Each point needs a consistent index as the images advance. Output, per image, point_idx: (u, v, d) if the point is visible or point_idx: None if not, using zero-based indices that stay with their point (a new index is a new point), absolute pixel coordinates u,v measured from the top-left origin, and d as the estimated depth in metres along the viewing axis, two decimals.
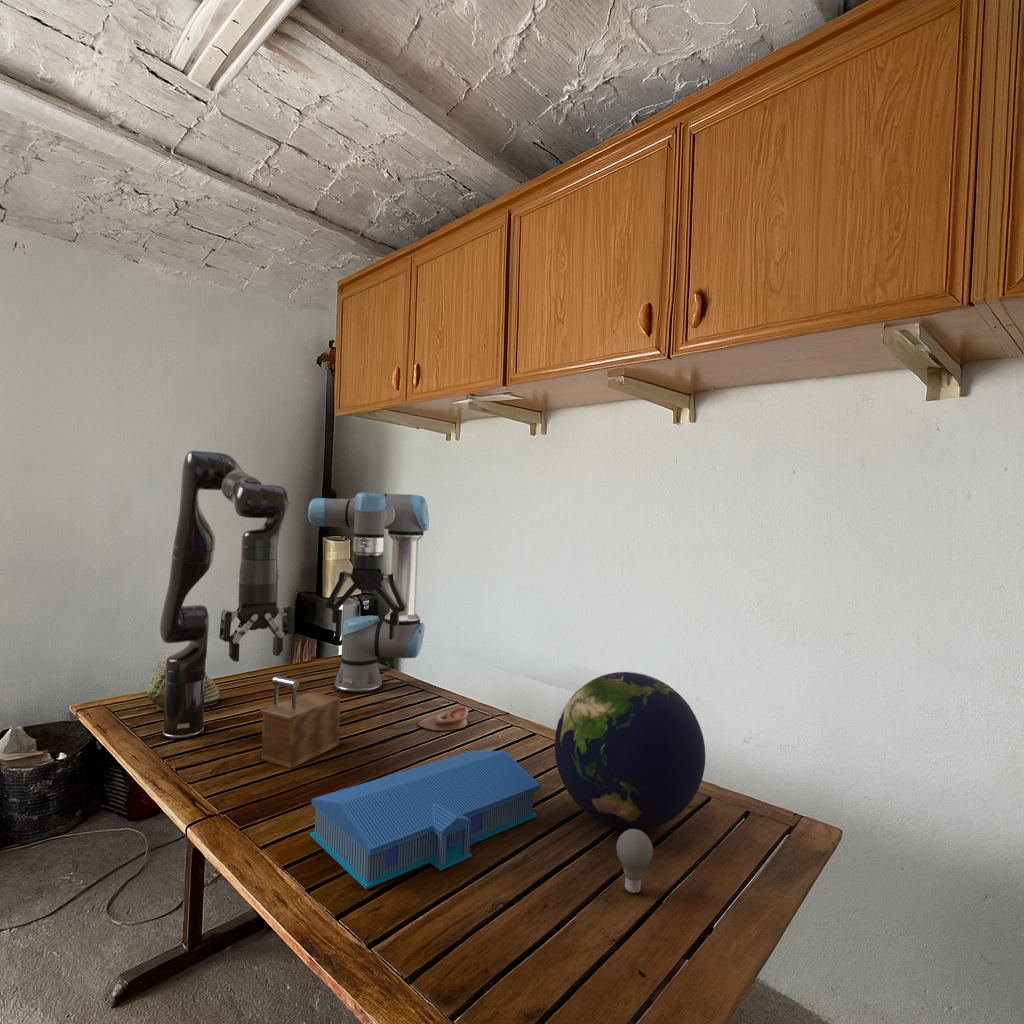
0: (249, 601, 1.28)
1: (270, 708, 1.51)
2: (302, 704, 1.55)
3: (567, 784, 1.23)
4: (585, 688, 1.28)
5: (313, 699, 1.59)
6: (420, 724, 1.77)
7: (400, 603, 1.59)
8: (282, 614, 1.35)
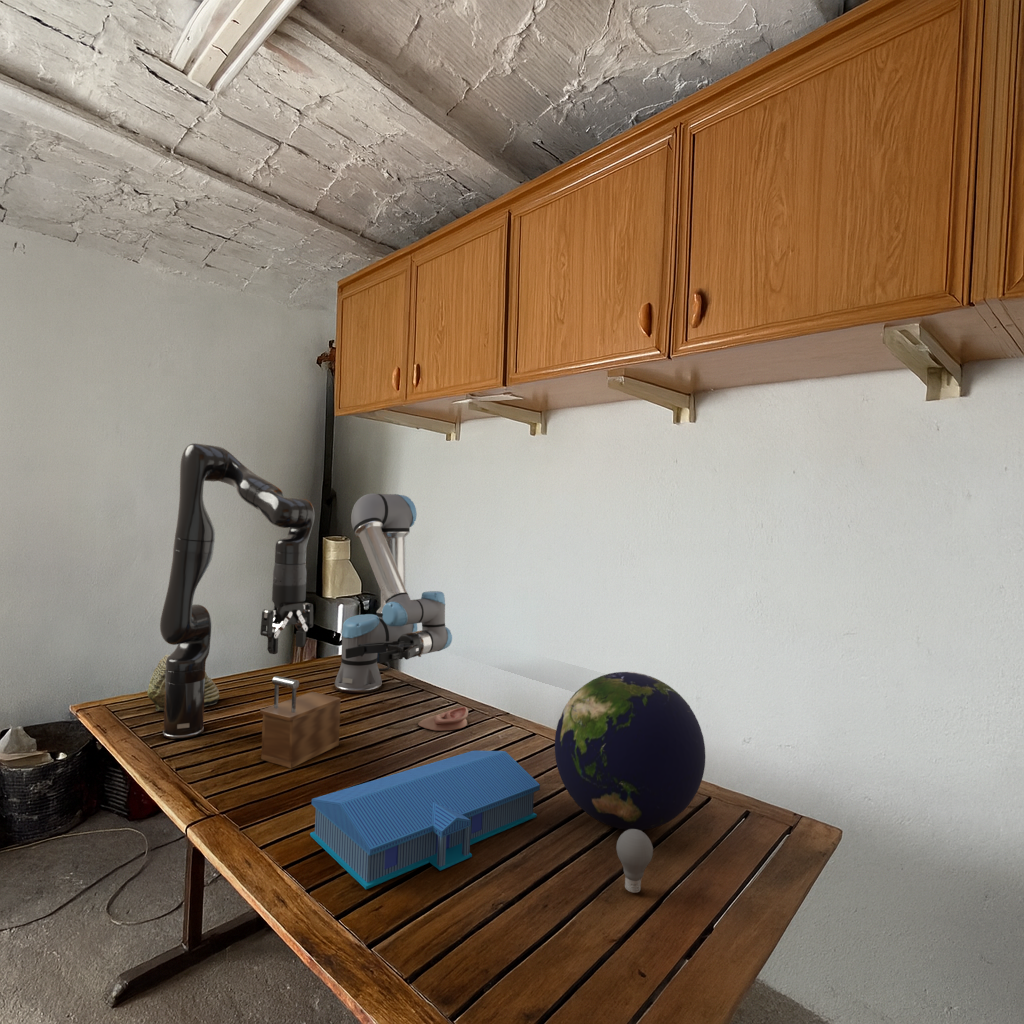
0: None
1: (270, 708, 1.51)
2: (302, 704, 1.55)
3: (567, 784, 1.23)
4: (585, 688, 1.28)
5: (313, 699, 1.59)
6: (420, 724, 1.77)
7: None
8: None
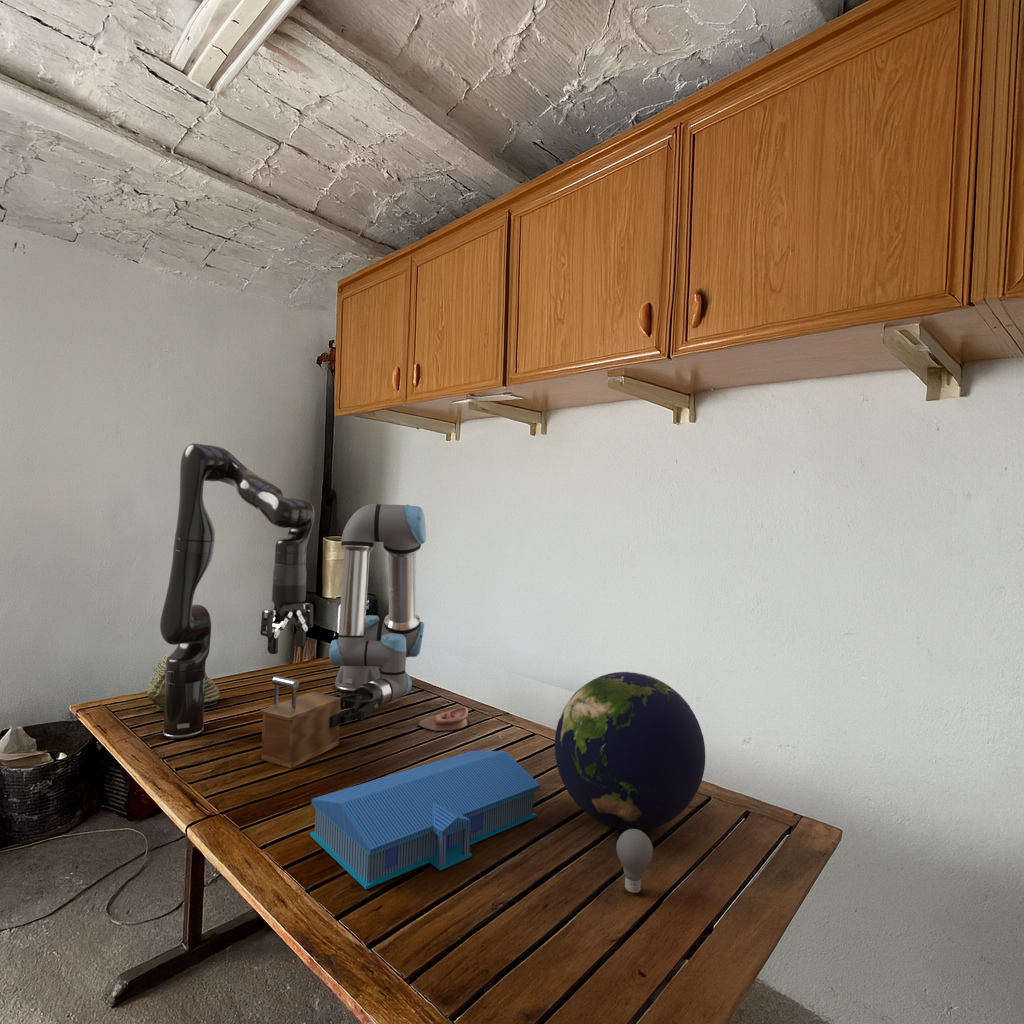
0: None
1: (270, 708, 1.51)
2: (302, 704, 1.55)
3: (567, 784, 1.23)
4: (585, 688, 1.28)
5: (313, 699, 1.59)
6: (420, 724, 1.77)
7: None
8: None
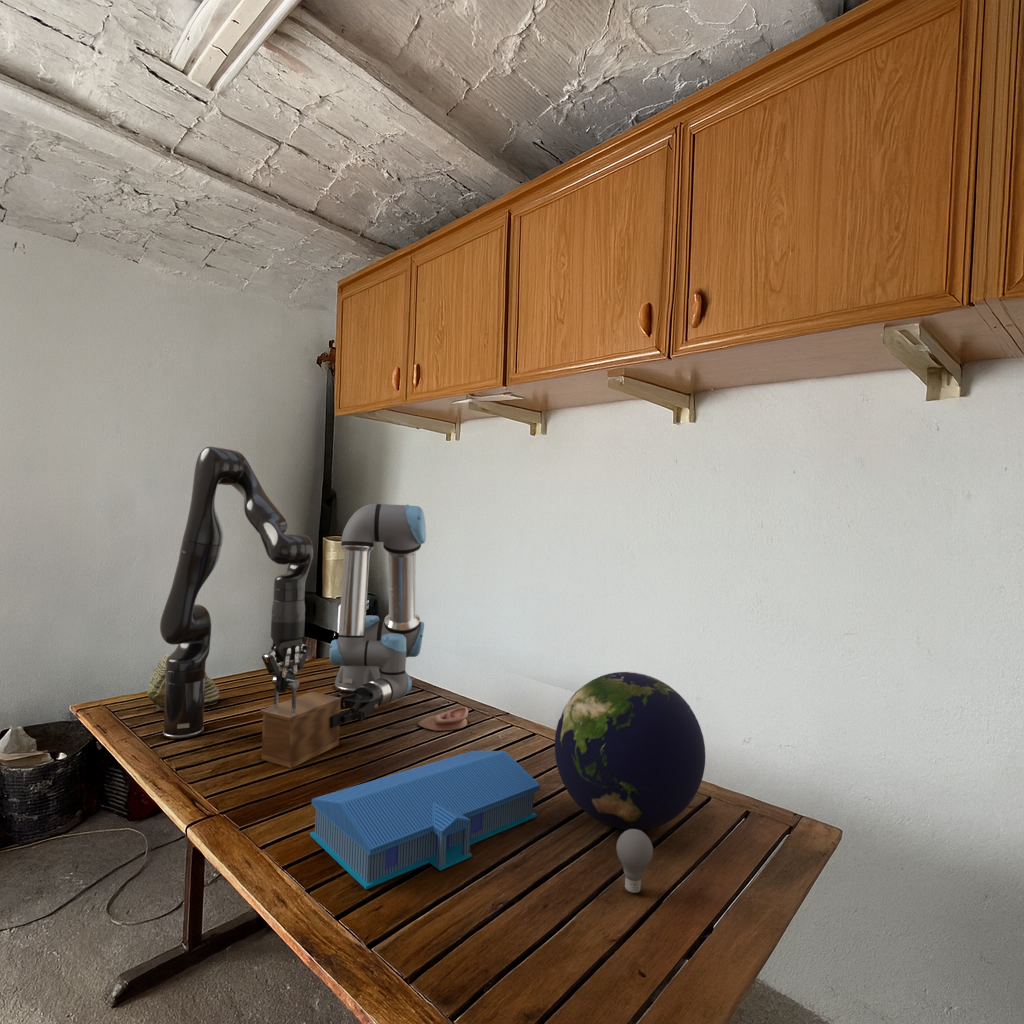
0: None
1: (270, 708, 1.51)
2: (302, 704, 1.55)
3: (567, 784, 1.23)
4: (585, 688, 1.28)
5: (313, 699, 1.59)
6: (420, 724, 1.77)
7: None
8: None
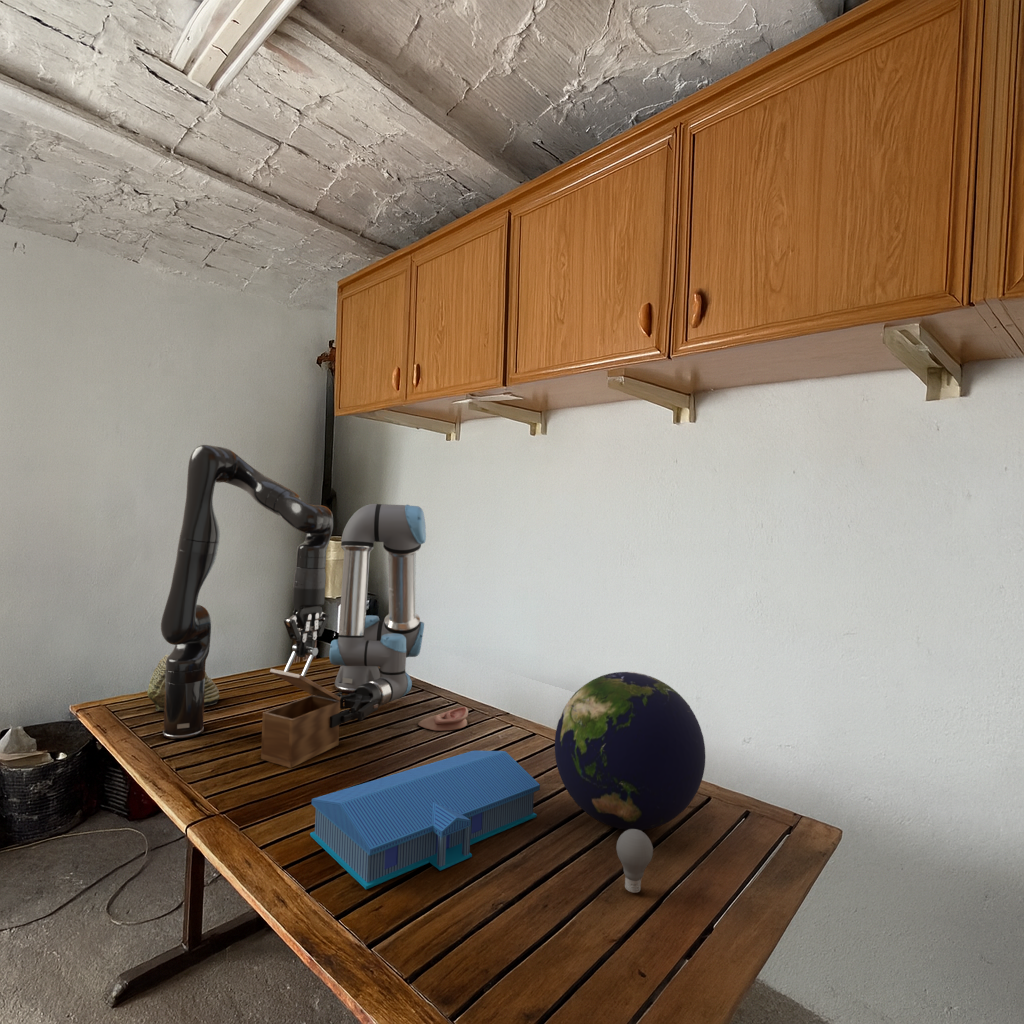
0: None
1: None
2: None
3: (567, 784, 1.23)
4: (585, 688, 1.28)
5: None
6: (420, 724, 1.77)
7: None
8: None
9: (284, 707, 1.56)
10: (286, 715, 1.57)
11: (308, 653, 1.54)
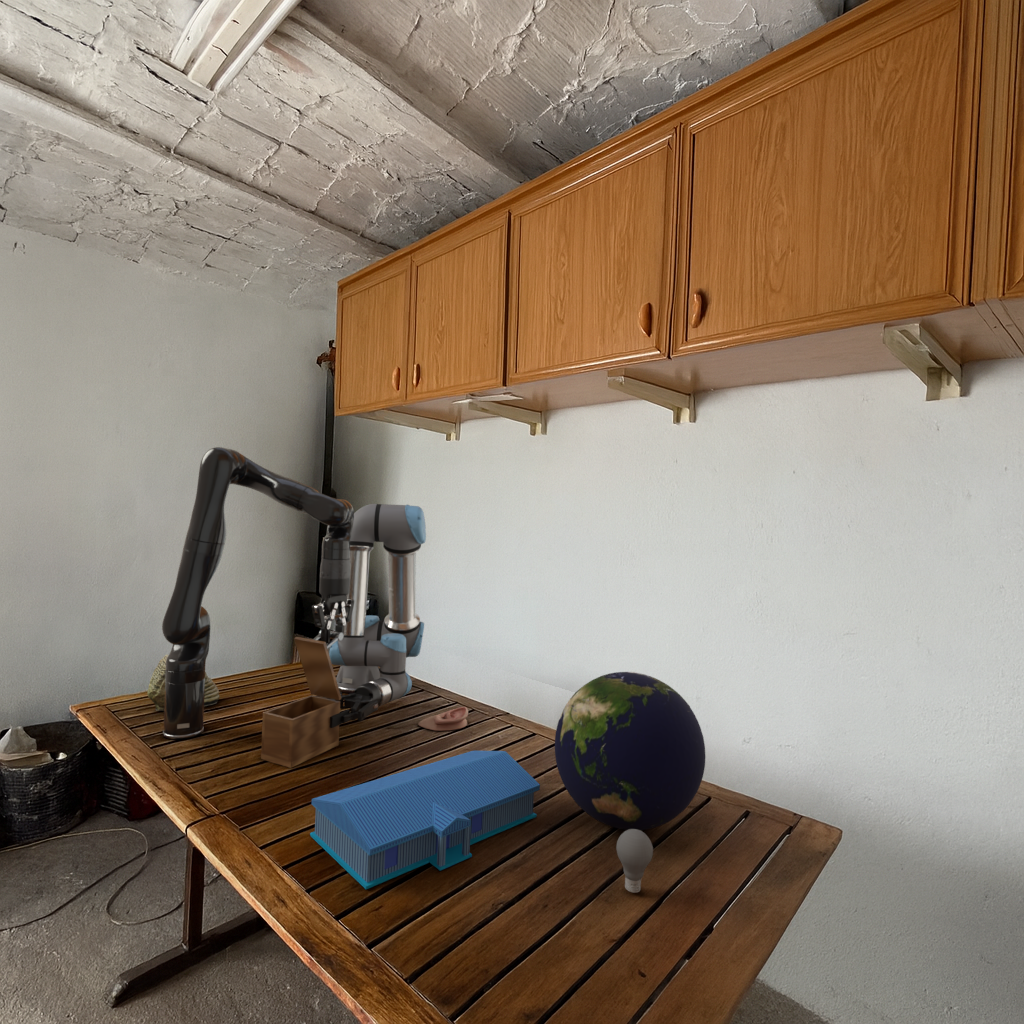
0: None
1: None
2: None
3: (567, 784, 1.23)
4: (585, 688, 1.28)
5: None
6: (420, 724, 1.77)
7: None
8: None
9: (284, 707, 1.56)
10: (286, 715, 1.57)
11: (334, 635, 1.62)
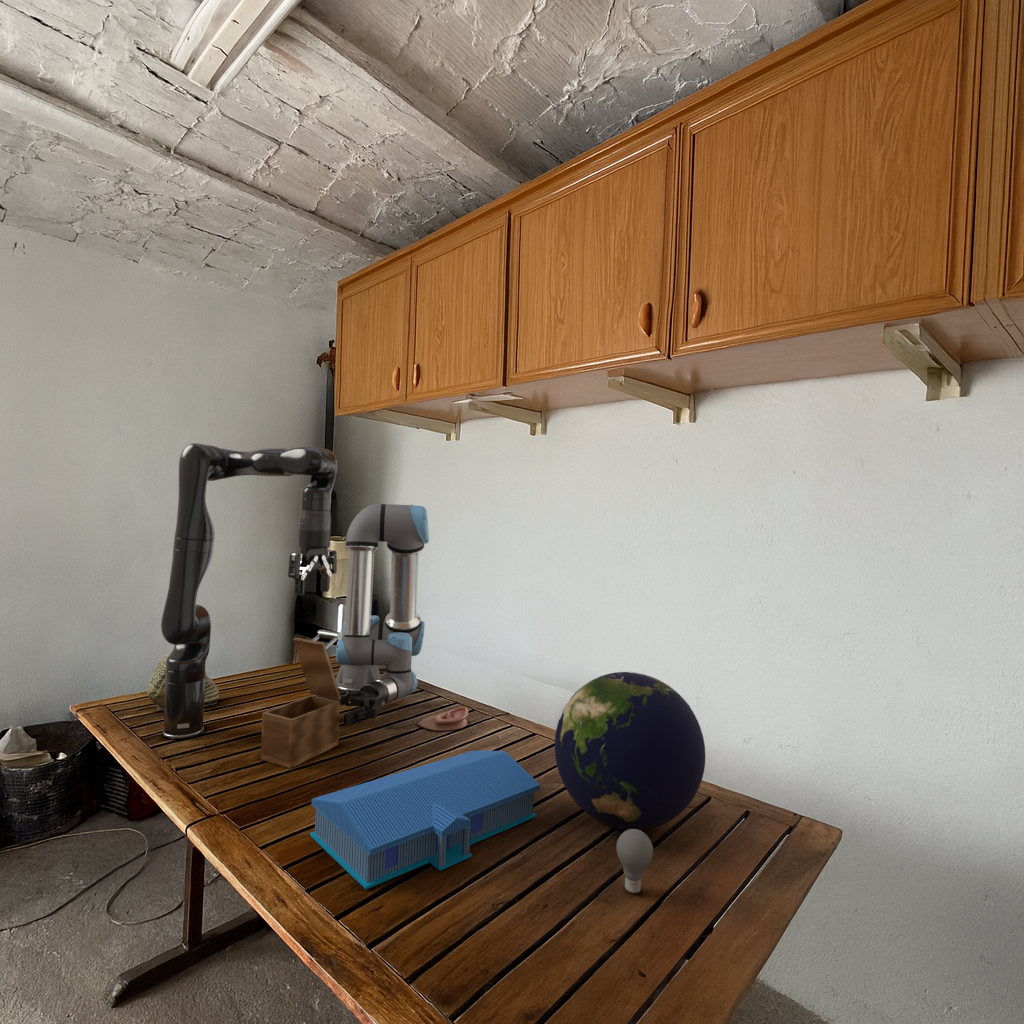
0: None
1: None
2: None
3: (567, 784, 1.23)
4: (585, 688, 1.28)
5: None
6: (420, 724, 1.77)
7: None
8: None
9: (284, 707, 1.56)
10: (286, 715, 1.57)
11: (333, 636, 1.62)
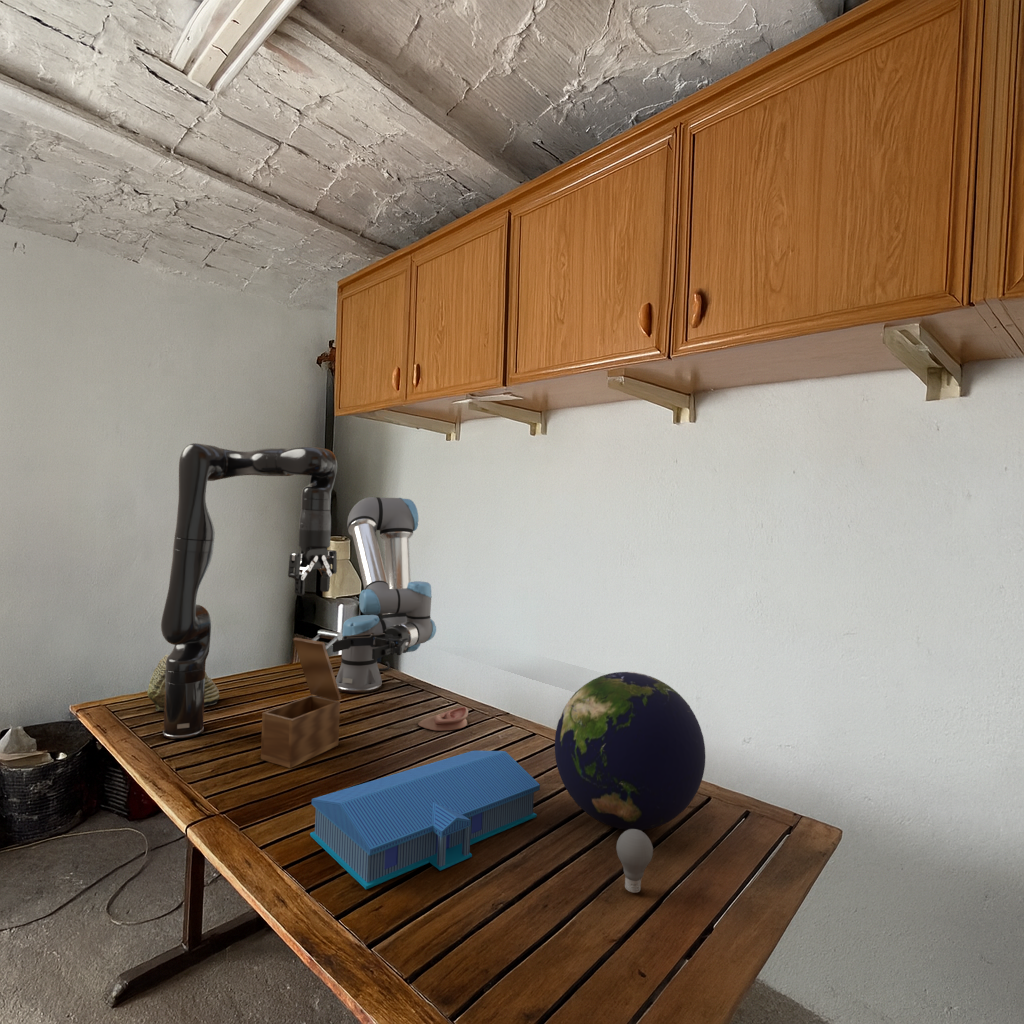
0: None
1: None
2: None
3: (567, 784, 1.23)
4: (585, 688, 1.28)
5: None
6: (420, 724, 1.77)
7: None
8: None
9: (284, 707, 1.56)
10: (286, 715, 1.57)
11: (333, 636, 1.62)
